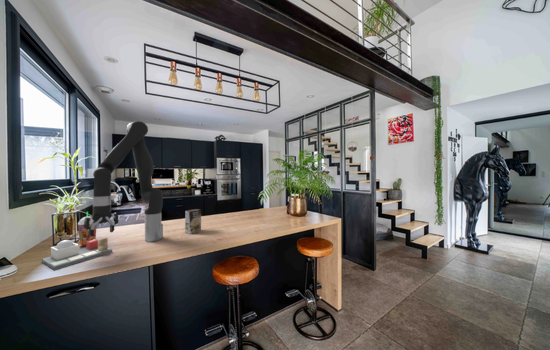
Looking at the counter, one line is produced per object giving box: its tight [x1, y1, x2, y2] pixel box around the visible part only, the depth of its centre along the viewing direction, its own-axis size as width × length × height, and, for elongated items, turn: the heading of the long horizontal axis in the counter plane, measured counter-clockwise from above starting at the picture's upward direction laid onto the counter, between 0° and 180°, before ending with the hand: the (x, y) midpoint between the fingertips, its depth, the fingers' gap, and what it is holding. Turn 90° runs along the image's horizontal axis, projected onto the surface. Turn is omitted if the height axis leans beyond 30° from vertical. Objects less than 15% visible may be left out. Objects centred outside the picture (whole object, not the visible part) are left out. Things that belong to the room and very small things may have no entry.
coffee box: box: [184, 208, 202, 235], centre depth 144 cm, size 9×6×16 cm
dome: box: [55, 239, 74, 249], centre depth 101 cm, size 6×6×6 cm
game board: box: [41, 239, 113, 271], centre depth 103 cm, size 22×17×6 cm
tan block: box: [97, 237, 109, 251], centre depth 108 cm, size 4×4×6 cm
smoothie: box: [77, 211, 97, 247], centre depth 119 cm, size 8×8×20 cm
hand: (102, 234), depth 107 cm, fingers open, 8 cm apart
